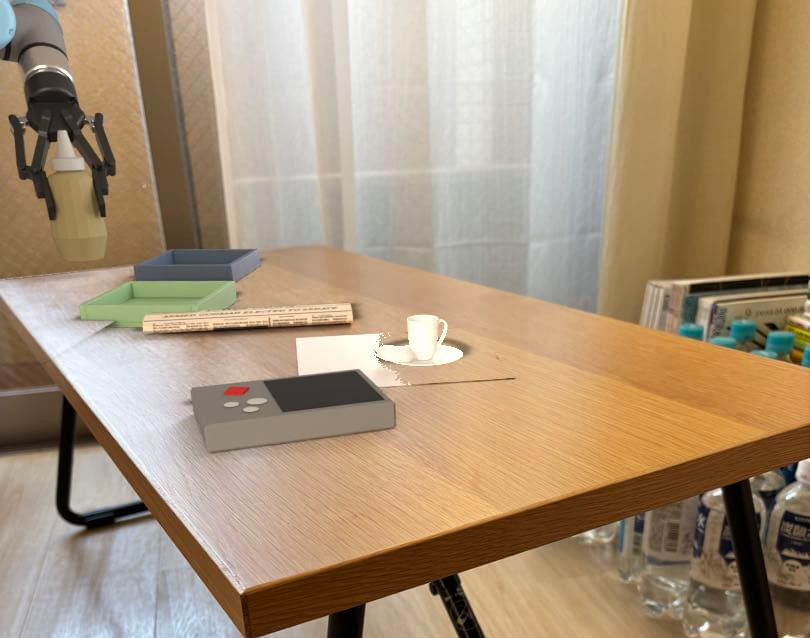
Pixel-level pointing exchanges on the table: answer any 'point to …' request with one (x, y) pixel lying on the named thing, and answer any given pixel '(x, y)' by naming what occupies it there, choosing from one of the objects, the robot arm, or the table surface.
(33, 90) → the robot arm
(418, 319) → the teacup and saucer
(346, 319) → the newspaper
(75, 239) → the squeeze bottle
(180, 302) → the green tray
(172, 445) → the table surface
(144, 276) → the blue tray
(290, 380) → the electronic device
